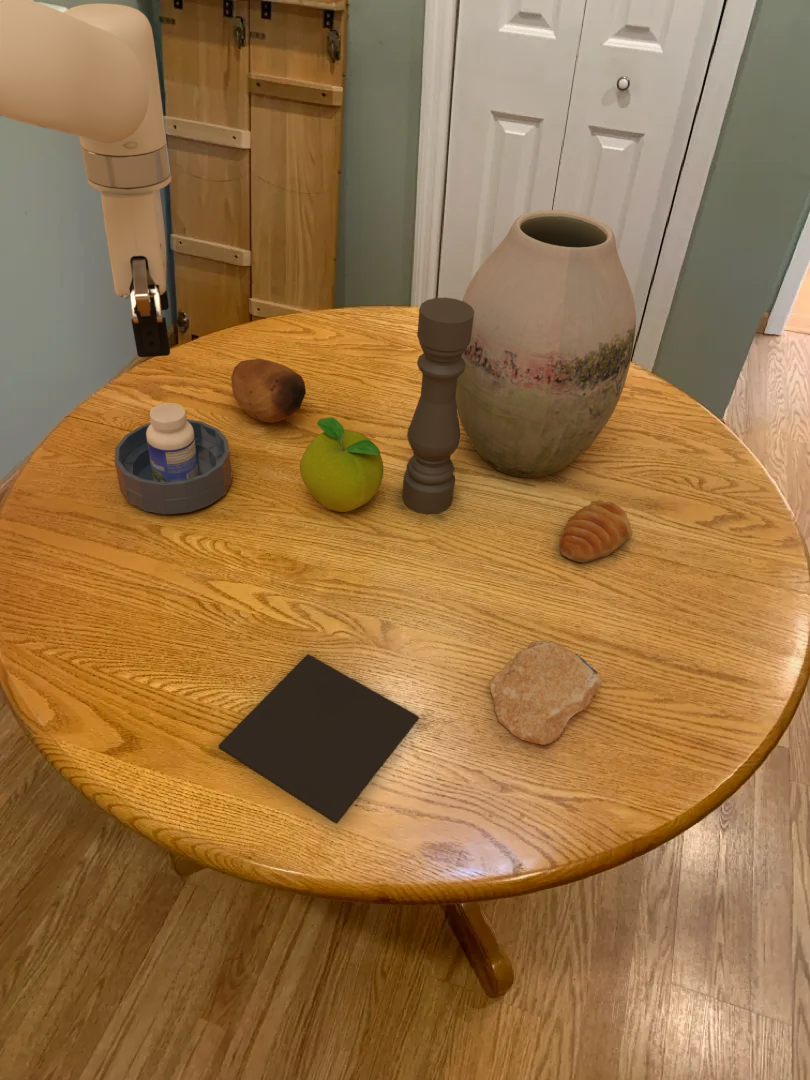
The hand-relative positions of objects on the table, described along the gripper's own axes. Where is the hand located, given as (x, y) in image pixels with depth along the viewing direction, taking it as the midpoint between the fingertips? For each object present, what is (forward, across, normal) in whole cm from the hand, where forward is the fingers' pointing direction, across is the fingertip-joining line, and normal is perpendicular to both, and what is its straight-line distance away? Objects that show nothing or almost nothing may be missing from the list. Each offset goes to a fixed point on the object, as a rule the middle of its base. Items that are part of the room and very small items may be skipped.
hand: (154, 331), depth 89 cm
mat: (+20, +39, +12) cm, 46 cm away
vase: (+21, 0, +44) cm, 49 cm away
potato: (+21, -13, +12) cm, 27 cm away
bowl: (+20, 0, 0) cm, 20 cm away
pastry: (+21, +18, +47) cm, 55 cm away
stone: (+20, +39, +33) cm, 55 cm away
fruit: (+21, +7, +19) cm, 29 cm away
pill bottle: (+20, 0, 0) cm, 20 cm away
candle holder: (+21, +8, +30) cm, 37 cm away
